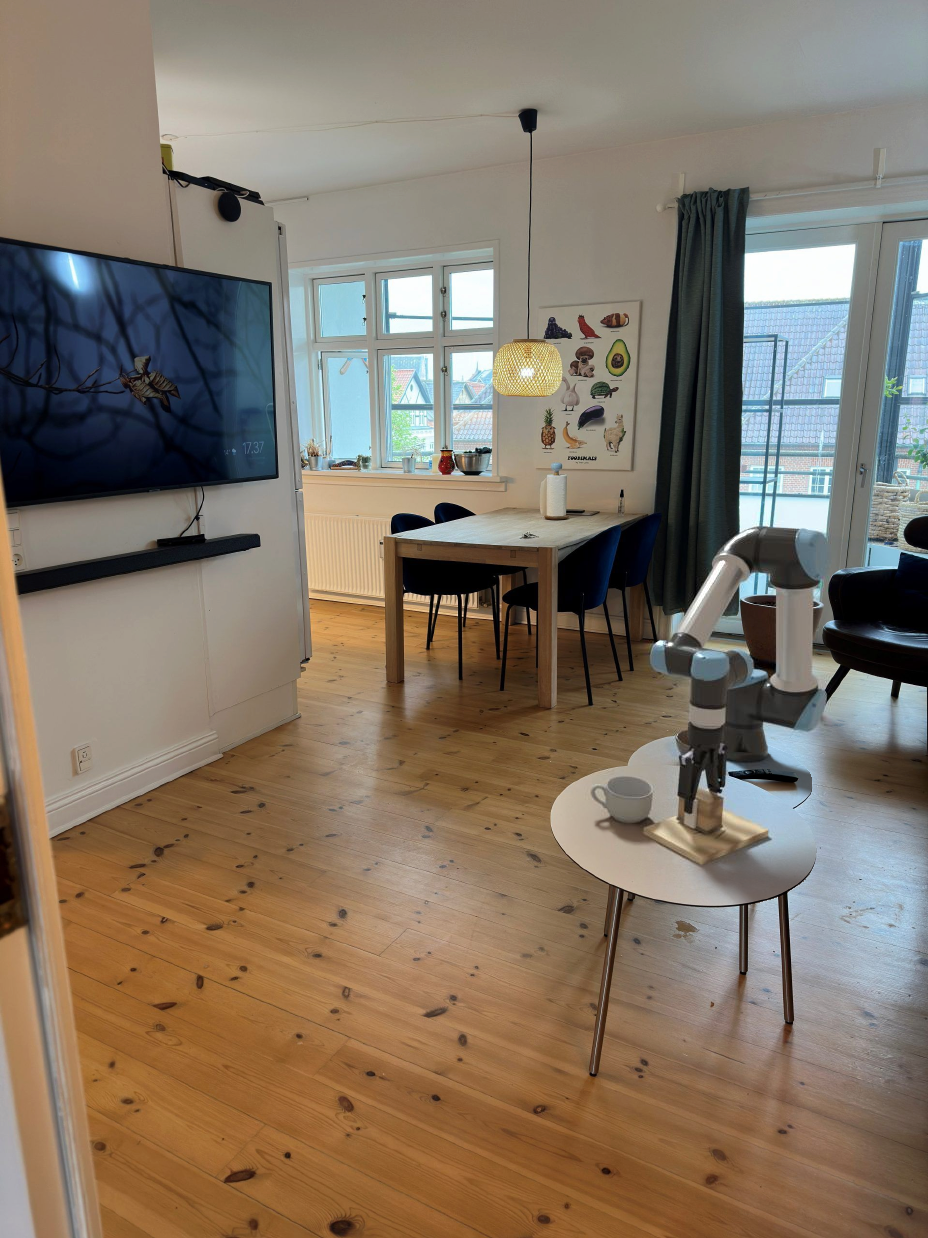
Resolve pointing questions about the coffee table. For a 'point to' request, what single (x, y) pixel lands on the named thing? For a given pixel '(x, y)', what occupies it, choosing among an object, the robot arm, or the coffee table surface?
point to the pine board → (706, 837)
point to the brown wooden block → (705, 811)
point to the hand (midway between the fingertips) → (699, 822)
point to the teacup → (626, 798)
